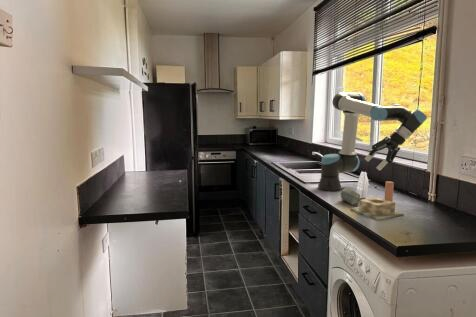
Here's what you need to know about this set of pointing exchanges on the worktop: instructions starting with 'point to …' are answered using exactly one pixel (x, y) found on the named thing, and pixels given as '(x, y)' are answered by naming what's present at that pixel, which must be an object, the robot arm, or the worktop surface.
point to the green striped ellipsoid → (350, 196)
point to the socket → (377, 208)
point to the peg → (389, 191)
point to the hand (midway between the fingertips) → (372, 164)
